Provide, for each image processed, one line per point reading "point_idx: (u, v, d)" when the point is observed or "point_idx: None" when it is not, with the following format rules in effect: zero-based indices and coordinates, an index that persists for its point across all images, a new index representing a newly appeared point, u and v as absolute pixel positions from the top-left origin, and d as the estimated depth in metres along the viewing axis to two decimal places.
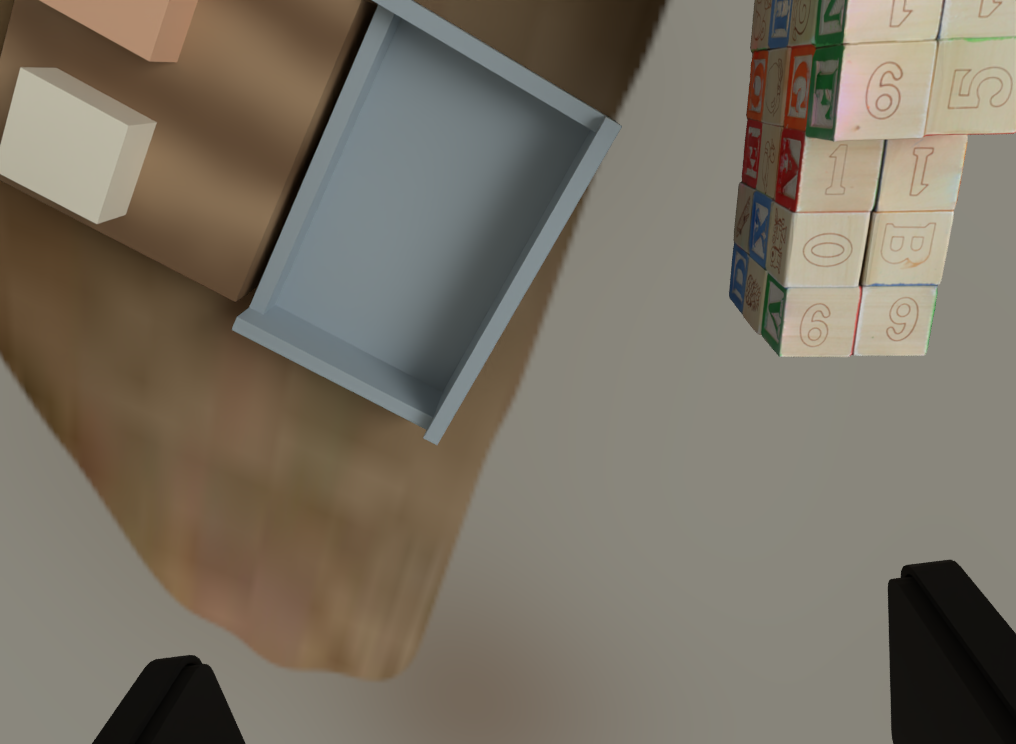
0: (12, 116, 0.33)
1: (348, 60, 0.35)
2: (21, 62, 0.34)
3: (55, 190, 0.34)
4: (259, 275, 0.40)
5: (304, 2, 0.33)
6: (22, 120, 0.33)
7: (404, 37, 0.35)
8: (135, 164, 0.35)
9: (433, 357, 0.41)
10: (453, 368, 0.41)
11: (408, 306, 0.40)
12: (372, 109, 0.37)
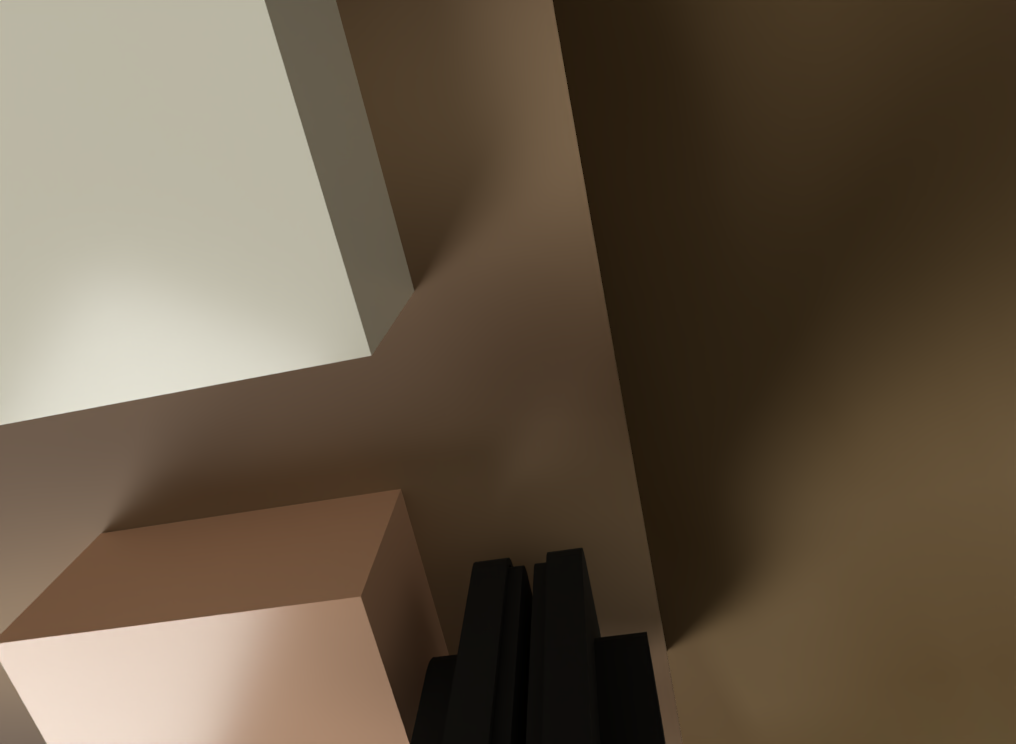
0: (286, 144, 0.07)
1: None
2: (516, 225, 0.10)
3: None
4: None
5: None
6: (244, 160, 0.07)
7: None
8: None
9: None
10: None
11: None
12: None
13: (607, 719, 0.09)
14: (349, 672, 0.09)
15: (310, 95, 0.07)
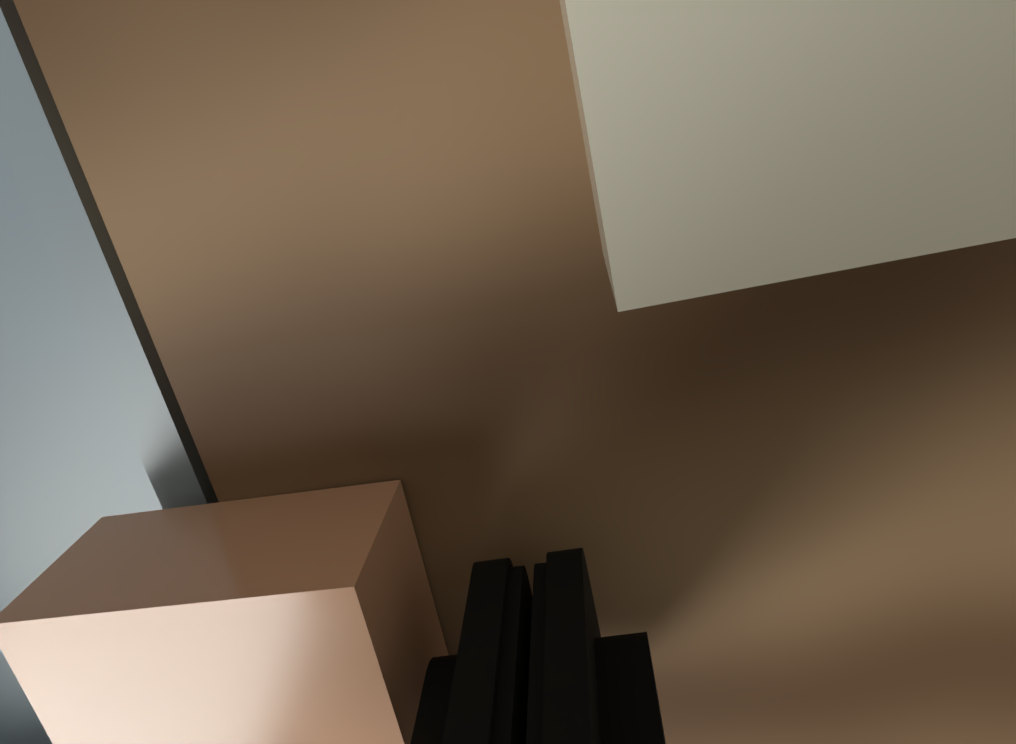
0: None
1: None
2: None
3: None
4: None
5: None
6: None
7: None
8: (575, 88, 0.08)
9: None
10: None
11: None
12: None
13: (607, 719, 0.09)
14: (342, 663, 0.09)
15: None
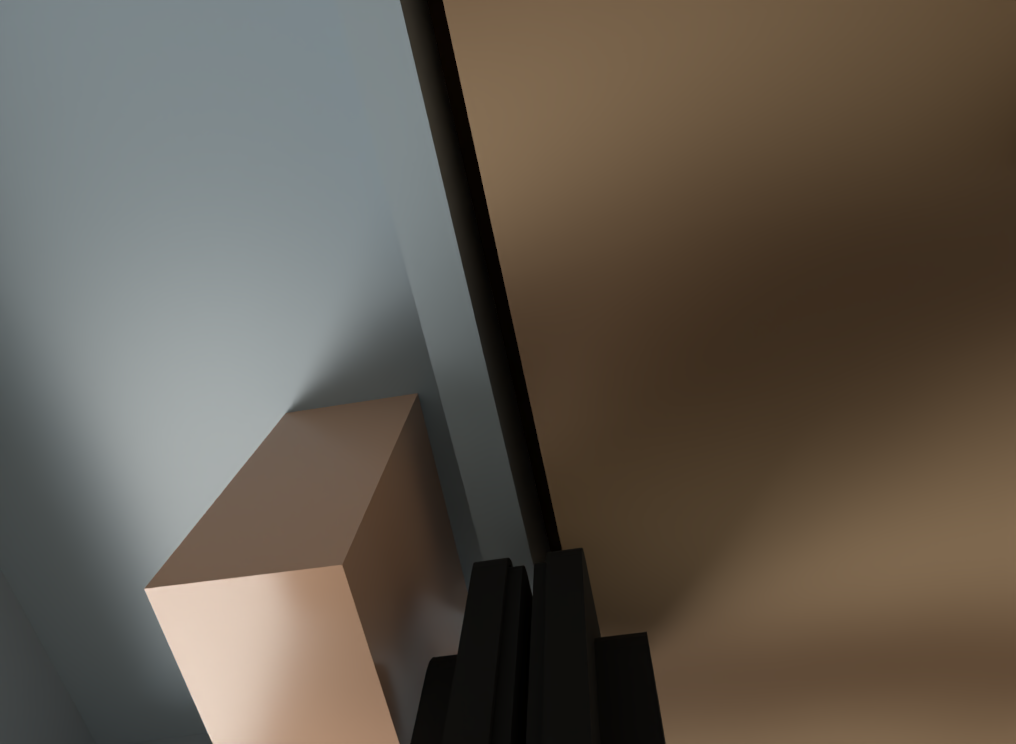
0: None
1: None
2: None
3: None
4: None
5: (732, 712, 0.12)
6: None
7: None
8: None
9: None
10: None
11: None
12: (470, 519, 0.14)
13: (607, 719, 0.09)
14: None
15: None
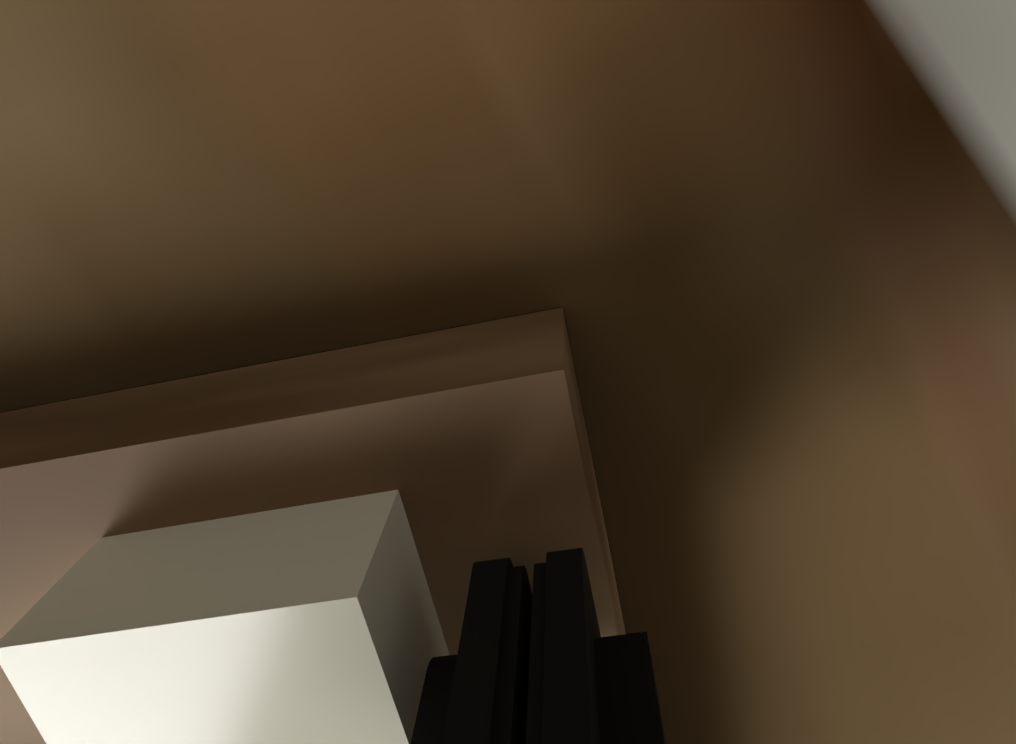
0: None
1: None
2: None
3: (160, 662, 0.09)
4: None
5: None
6: None
7: None
8: None
9: None
10: None
11: None
12: None
13: (607, 719, 0.09)
14: None
15: (415, 713, 0.10)
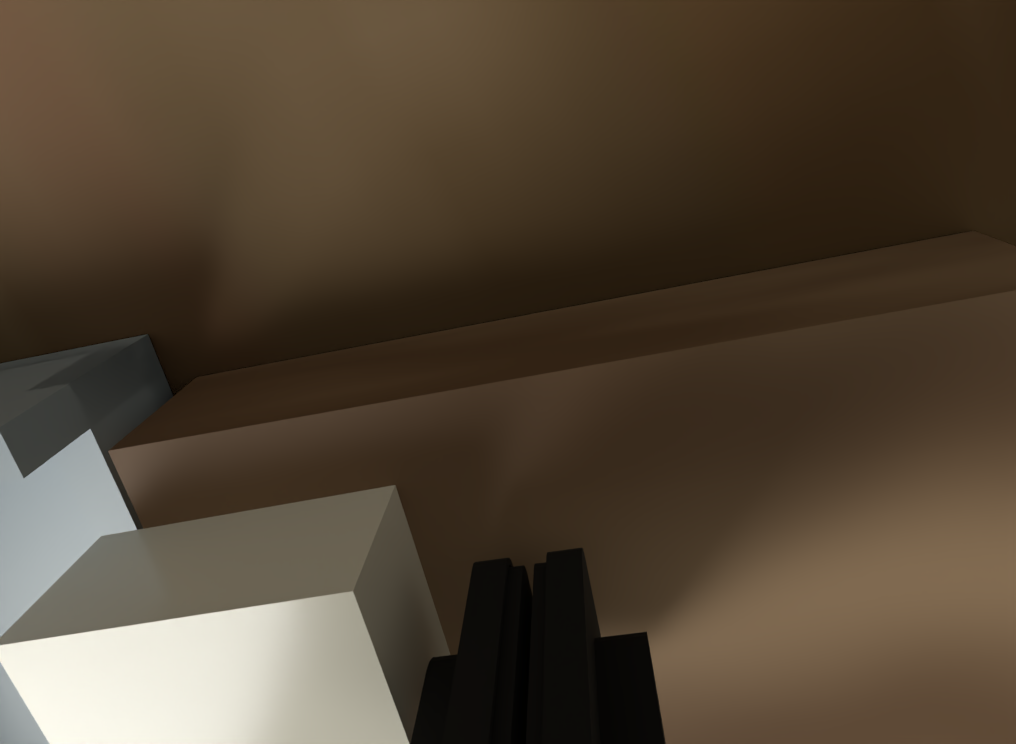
0: None
1: None
2: (1005, 646, 0.12)
3: (159, 657, 0.10)
4: None
5: None
6: None
7: None
8: None
9: None
10: None
11: None
12: None
13: (607, 719, 0.09)
14: None
15: (414, 708, 0.10)
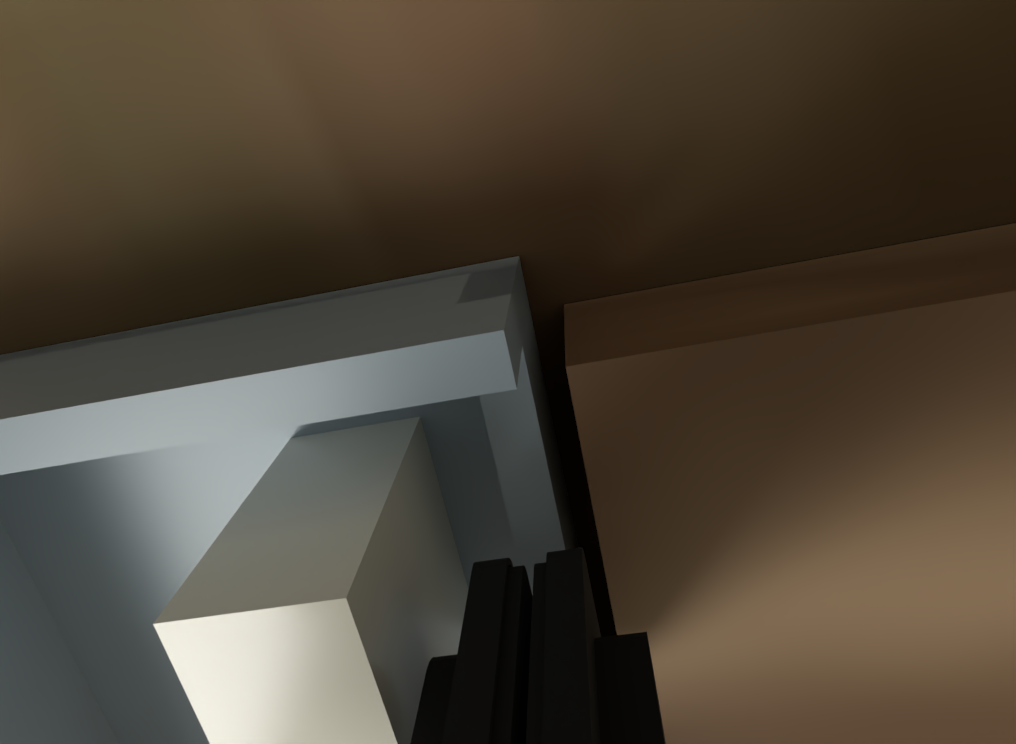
0: None
1: None
2: None
3: None
4: None
5: None
6: None
7: None
8: None
9: (47, 478, 0.14)
10: None
11: (203, 546, 0.15)
12: None
13: (607, 718, 0.09)
14: None
15: None
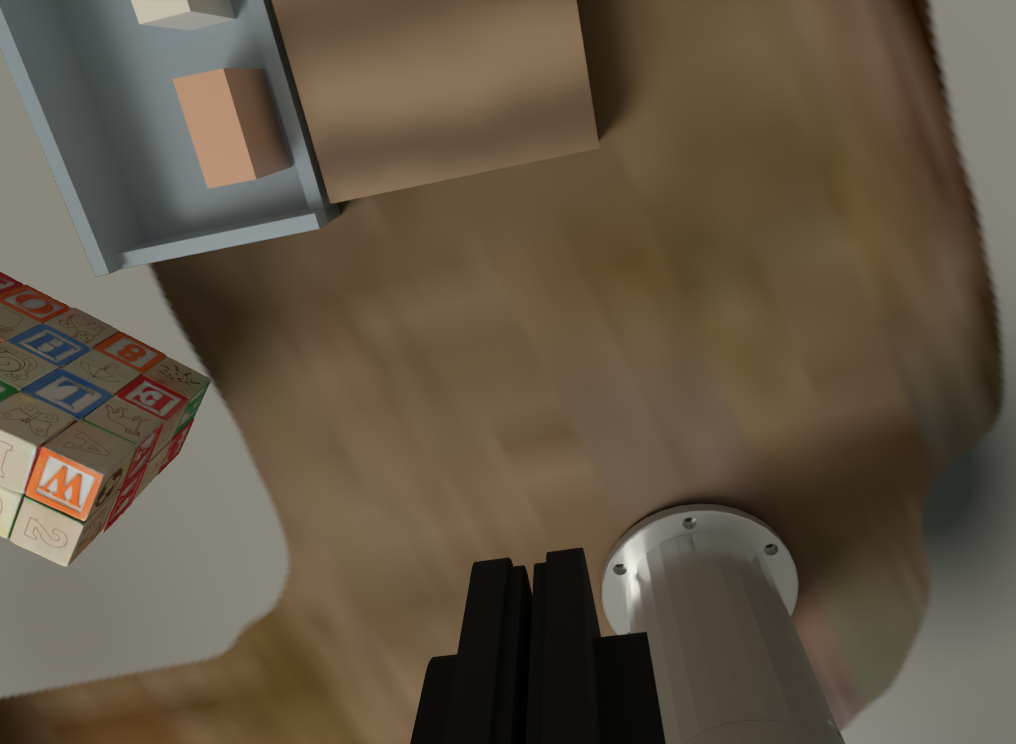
0: None
1: None
2: None
3: None
4: None
5: (364, 168, 0.37)
6: None
7: None
8: None
9: None
10: None
11: None
12: None
13: (607, 719, 0.09)
14: None
15: None
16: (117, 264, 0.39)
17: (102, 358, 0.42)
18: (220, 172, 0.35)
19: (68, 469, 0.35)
